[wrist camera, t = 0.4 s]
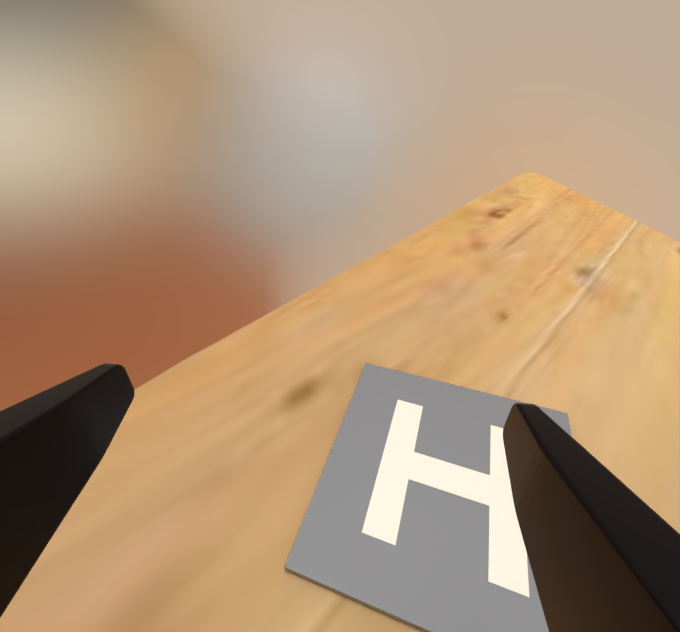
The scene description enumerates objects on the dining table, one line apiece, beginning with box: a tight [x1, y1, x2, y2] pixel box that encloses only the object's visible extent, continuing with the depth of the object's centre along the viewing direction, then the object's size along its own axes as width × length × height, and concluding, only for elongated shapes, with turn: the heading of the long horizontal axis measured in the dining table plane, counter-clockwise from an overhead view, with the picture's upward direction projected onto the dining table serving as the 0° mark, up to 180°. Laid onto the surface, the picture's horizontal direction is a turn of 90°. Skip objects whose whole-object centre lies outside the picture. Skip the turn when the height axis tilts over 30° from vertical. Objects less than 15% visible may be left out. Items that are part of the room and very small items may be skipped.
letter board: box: [285, 363, 572, 632], centre depth 23 cm, size 16×16×1 cm
